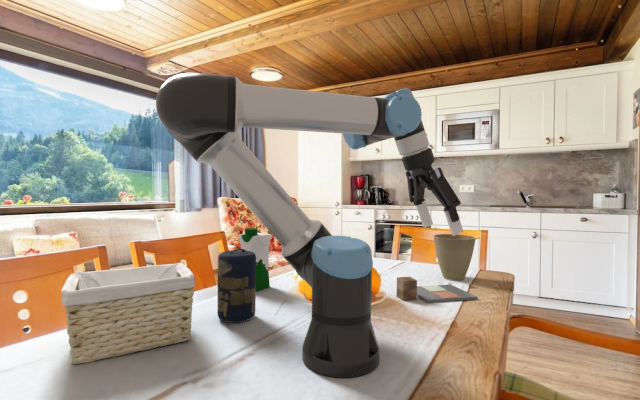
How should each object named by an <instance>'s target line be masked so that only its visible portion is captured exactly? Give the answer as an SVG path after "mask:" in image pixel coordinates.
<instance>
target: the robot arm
mask: <svg viewBox="0 0 640 400" xmlns="http://www.w3.org/2000/svg"><path fill="white" fill-rule="evenodd" d="M155 108H156V112H157V116H158V118H159V121H161V124H163V126H164V127H165V128H166V130H167V131H168V133H169V134H170V136H172V138H173V139H174V140H175V141H176V142H178V143H179V144H180V145H181V146H182V147H183V148H184V149H185V151H187V153H189V155H190V156H191V157H192V159H194V160H195V161H196V163H200V164H208V165H209V166H210V167H211V168H212V169H213V170H214V171H215V173H216V174H217V175H218V176H219V177H220V178H221V179H222V180H223V182H224V183H225V184H226V185H227V186H228V187H229V188H230V189H231V191H233V192H234V194H235V195H236V196H237V197H238V199H240V200H241V202H242V203H243V204H244V205H245V206H246V207H247V209H249V210H250V211H251V213H252V214H253V215H254V216H255V218H257V220H258V221H260V223H262V225H263V226H264V227H265V228H266V230H268V231H269V233H270V234H271V236H273V237H274V239H276V240H277V242H279V244H281V256H282V257H283V258H284V259H285V260H286V261H287V262H288V263H289V265H290V266H291V268H293V269H294V270H295V272H296V274H297V276H299V277H300V278H301V279H302V280H304V281H305V282H306V283H307V285H309V287H310V288H311V319H310V323H309V326H308V329H307V331H306V334H305V337H304V341H303V343H302V348H301V350H302V353H301V355H302V357H301V358H302V359H301V360H302V362H303V364H304V365H305V367H307V368H308V369H309V370H311V371H313V372H315V373H317V374H320V375H322V376H327V377H333V378H355V377H360V376H364V375H367V374H369V373H371V372H373V371H374V370H376V368H377V367H378V365H379V363H380V348H379V344H378V341H377V337H376V334H375V330H374V327H373V324H372V283H373V281H372V279H373V266H374V264H373V263H374V260H373V255H372V248H371V247H370V245H369V244H368V243H367V242H366V241H364V240H362V239H360V238H357V237H351V236H348V235H347V236H346V235H332V234H331V232H330V231H329V230H328V228H326V227H325V226H324V224H323V223H322V222H321V221H320V220H314V219H310V218H309V217H308V215H307V214H306V213H305V212H304V211H303V210H302V209H301V208H300V207H299V205H298V204H297V203H296V201H294V199H293V198H292V197H291V196H290V194H288V193H287V191H286V190H285V189H284V187H282V185H281V184H280V183H279V182H278V181H277V179H275V178H274V176H273V175H272V174H271V172H270V171H269V170H268V169H267V168H266V167H265V166H264V164H263V163H262V162H261V161H260V160H259V159H258V157H257V156H256V155H255V154H254V152H252V150H251V149H250V148H249V147H248V146H247V145H246V144H245V142H244V141H243V140H242V139H241V137H240V136H241V135H240V134H241V133H240V132H241V128H251V129H264V130H265V129H267V130H280V131H281V130H282V131H284V130H285V131H296V132H311V133H312V132H313V133H314V132H315V133H327V134H328V133H330V134H332V133H333V134H342V135H343V139H344V141H345V143H346V145H347V146H348V147H349V148H351V149H352V150H359V149H361V148H366V147H368V146H371V145H372V144H375V143H379V142H382V141H385V140H389V139H394V142H395V145H396V147H397V151H398V154H399V155H400V156H402V157H401V161H402V164H403V167H404V170H405V176H406V179H407V188H408V195H409V196H408V198H409V199H408V200H409V202H410V203H413V205H414V206H415V207H416V210H417V213H418V216H419V219H420V221H421V225H422V227H423V228H424V229H426V228H427V227H431V226H432V225H434V223H433V219H432V217H431V214H430V211H429V208H428V206H427V202H426V199H425V190H426V189H427V191H431V192H432V194H433V196H434V197H436V198H435V199H437V200H438V201H439V203H440V204H441V205H442V207H443V210H442V211H443V212H444V216H445V218H446V221H447V224H448V227H449V230H450V232H451V233H450V234H452V236H455V235H457V234H459V235H460V234H461V233H464V229H463V226H462V223H461V220H460V216H459V213H458V210H457V207H458V206H460V205H461V204H462V202H461V201H460V199H459V197H458V196H457V194H456V192H455V191H454V190H453V188H452V186H451V185H450V183H449V181H448V179H446V176H445V175H444V172H443V169H442V167H437V168H433V166H432V165H433V164H434V162H435V161H436V159H435V156H434V154H433V150H432V148H431V147H429V146H430V142H429V139H428V134H427V133H426V130H425V127H424V124H423V121H422V108H421V105H420V104H419V101H418V100H417V99H415V97H414V94H413V92H412V90H411V88H407V87H404V88H401V89H398V90H396V91H394V92H391V93H389V94H386V95H384V96H383V97H376V96H363V95H355V94H347V93H344V94H343V93H333V92H325V91H324V92H323V91H315V90H314V91H313V90H308V89H307V90H305V89H297V88H289V87H288V88H287V87H280V86H279V87H276V86H267V85H259V84H257V85H256V84H248V83H244V82H242V81H241V80H240V79H239V78H238V77H237V76H229V75H222V74H220V75H219V74H212V73H211V74H210V73H204V72H203V73H202V72H201V73H200V72H184V73H179V74H175V75H173V76H172V77H169V78H168V79H167V80H166V81H164V83H162V84H161V86H160V88H159V90H158V92H157V95H156V99H155Z"/></svg>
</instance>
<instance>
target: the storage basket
mask: <svg viewBox="0 0 640 400" xmlns="http://www.w3.org/2000/svg"><path fill="white" fill-rule="evenodd" d="M195 286H196V278H195V275H194V273H193V271H191V269H190V268H189V267H187V266H186V265H185V264H183V263H182V262H177V263H176V262H175V263H167V264H156V265H146V266H145V265H144V266H139V267H137V266H136V267H129V268H115V269H103V270H93V271H92V270H91V271H76V272H73V273H70V275H69V276H68V277H67V278H66V280H65V283H64V284H63V286H62V288H61V290H60V291H61V294H60V295H61V303H62V304H61V305H62V306H63V307H64V308H65V316H66V324H67V328H66V333H67V336H68V337H69V338H68V344H69V347H70V350H69V355H70V359H71V360H70V362H71V364H72V365H78V364H88V363H92V362H95V361H99V360H102V359H103V360H105V359H107V358H112V357H113V358H114V357H120V356H123V355H127V354H132V353H136V352H139V351H141V352H142V351H147V350H153V349H155V348H158V347H165V346H167V345H172V344H178V343H181V342H186V341H187V342H188V341H189V340H191V336H192V314H193V302H194V298H193V296H194V294H195V293H194V292H195V291H194V289H195Z"/></svg>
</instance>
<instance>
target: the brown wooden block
mask: <svg viewBox="0 0 640 400" xmlns="http://www.w3.org/2000/svg"><path fill="white" fill-rule="evenodd" d="M417 286H418V280H417V279H415V278H414V277H411V276H400V277H399V276H397V277H396V296H395V297H396V298H398V299H400V300H401V301H404V302H406V301H417V298H418V297H417Z"/></svg>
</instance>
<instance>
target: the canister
mask: <svg viewBox="0 0 640 400" xmlns="http://www.w3.org/2000/svg"><path fill="white" fill-rule="evenodd" d="M256 295H257V291H256V255H255V253H254V252H251V251H246V250H244V249H241V247H238V248H235V249H232V250H225V251H222V252H220V253H219V254H218V257H217V317H218V318H219V320H220V321H223V322H226V323H240V322H246V321H249V320H251V319H252V318H254V316H255V315H256V300H257V299H256Z"/></svg>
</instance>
